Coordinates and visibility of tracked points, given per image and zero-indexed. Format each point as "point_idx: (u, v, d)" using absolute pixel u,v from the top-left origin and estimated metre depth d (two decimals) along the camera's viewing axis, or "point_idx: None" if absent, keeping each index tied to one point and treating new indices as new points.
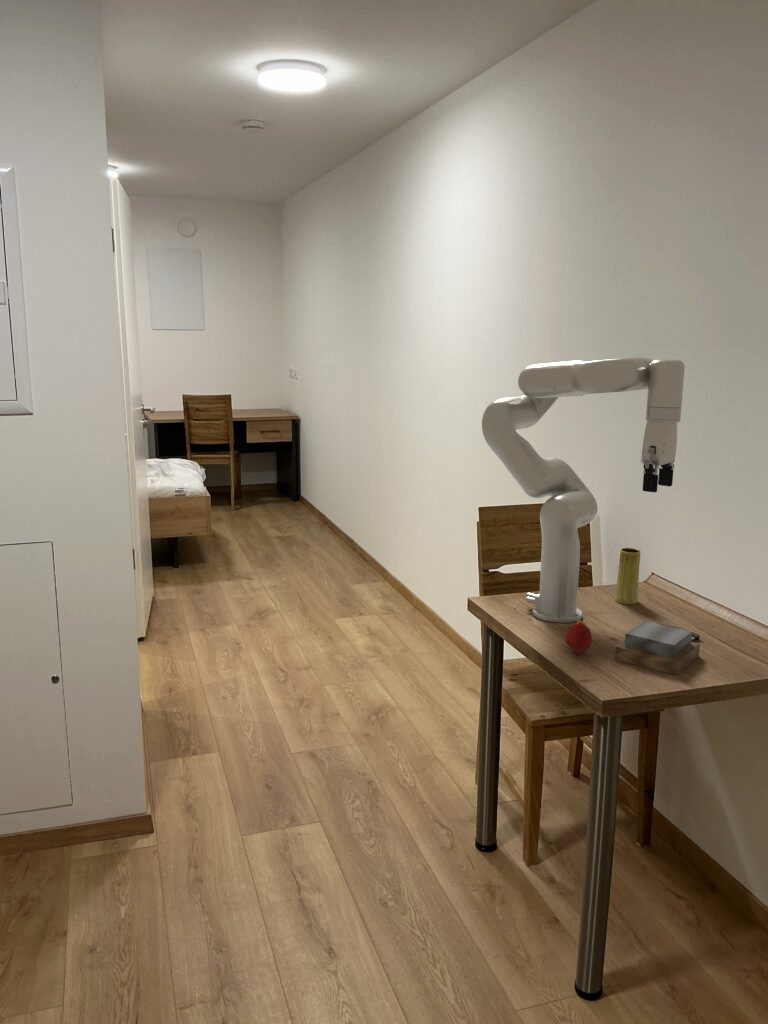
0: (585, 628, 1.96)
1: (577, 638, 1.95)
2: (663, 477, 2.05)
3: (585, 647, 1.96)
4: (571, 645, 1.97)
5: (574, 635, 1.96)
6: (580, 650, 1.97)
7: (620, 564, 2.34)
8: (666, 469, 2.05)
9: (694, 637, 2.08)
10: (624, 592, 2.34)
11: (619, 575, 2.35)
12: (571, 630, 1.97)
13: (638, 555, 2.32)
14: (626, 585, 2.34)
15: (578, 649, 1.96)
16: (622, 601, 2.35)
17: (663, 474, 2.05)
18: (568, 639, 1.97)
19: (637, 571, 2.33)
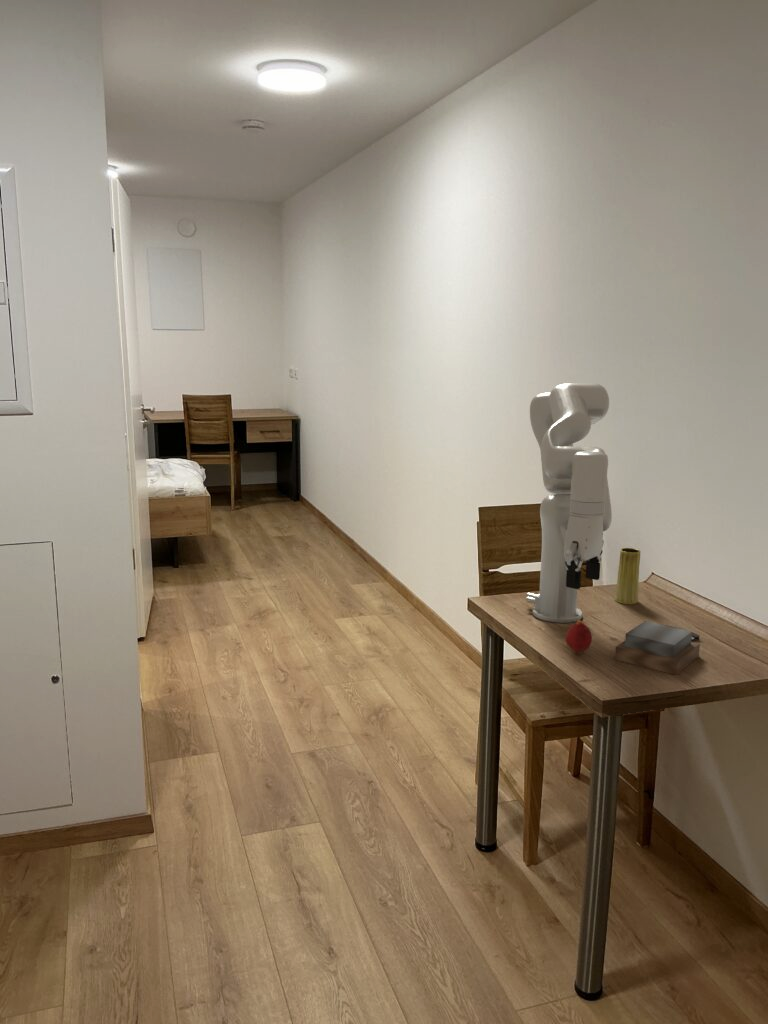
0: (585, 628, 1.96)
1: (577, 638, 1.95)
2: (590, 570, 1.98)
3: (585, 647, 1.96)
4: (571, 645, 1.97)
5: (574, 635, 1.96)
6: (580, 650, 1.97)
7: (620, 564, 2.34)
8: (593, 562, 1.97)
9: (694, 637, 2.08)
10: (624, 592, 2.34)
11: (619, 575, 2.35)
12: (571, 630, 1.97)
13: (638, 555, 2.32)
14: (626, 585, 2.34)
15: (578, 649, 1.96)
16: (622, 601, 2.35)
17: (590, 567, 1.98)
18: (568, 639, 1.97)
19: (637, 571, 2.33)
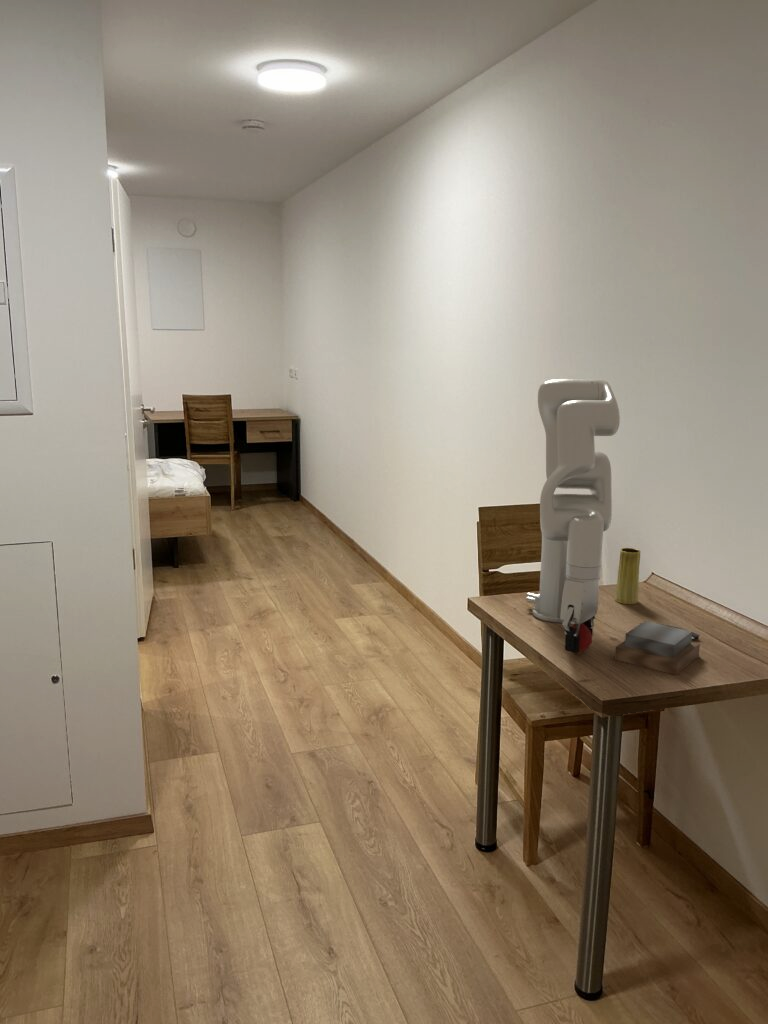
0: (585, 628, 1.96)
1: None
2: None
3: (585, 647, 1.96)
4: None
5: None
6: (580, 650, 1.97)
7: (620, 564, 2.34)
8: None
9: (694, 637, 2.08)
10: (624, 592, 2.34)
11: (619, 575, 2.35)
12: None
13: (638, 555, 2.32)
14: (626, 585, 2.34)
15: None
16: (622, 601, 2.35)
17: None
18: None
19: (637, 571, 2.33)
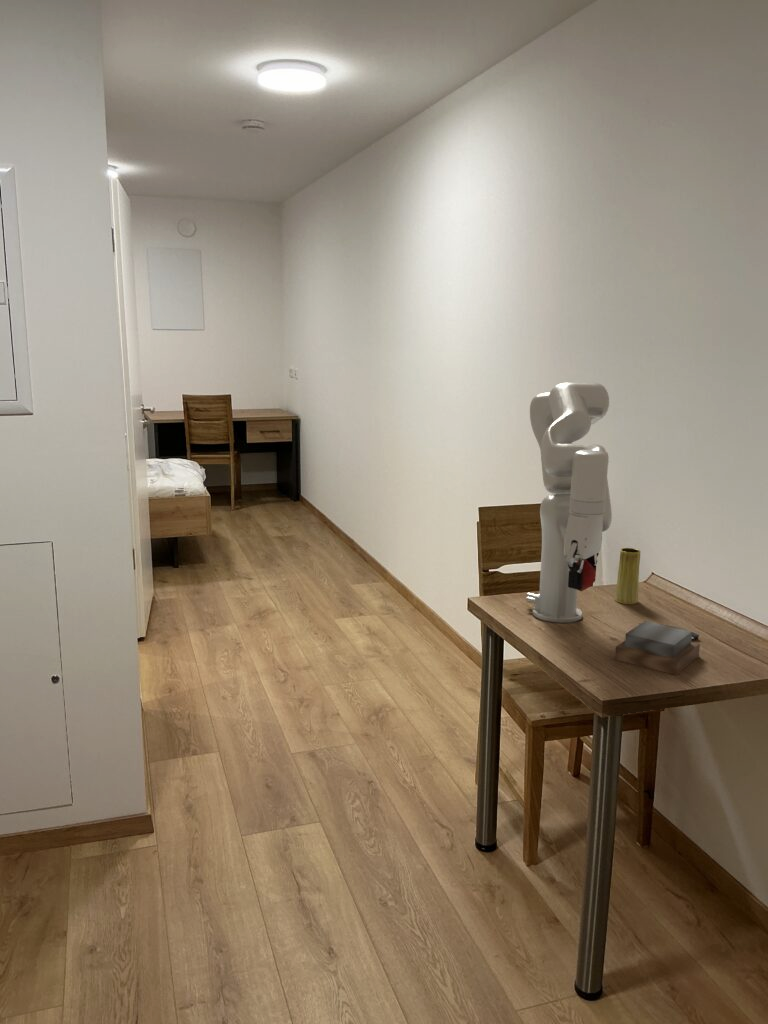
0: (589, 565, 1.94)
1: None
2: None
3: (589, 584, 1.94)
4: None
5: None
6: (583, 587, 1.94)
7: (620, 564, 2.34)
8: None
9: (693, 637, 2.08)
10: (624, 592, 2.34)
11: (619, 575, 2.35)
12: None
13: (638, 555, 2.32)
14: (626, 585, 2.34)
15: None
16: (622, 601, 2.35)
17: None
18: None
19: (637, 571, 2.33)
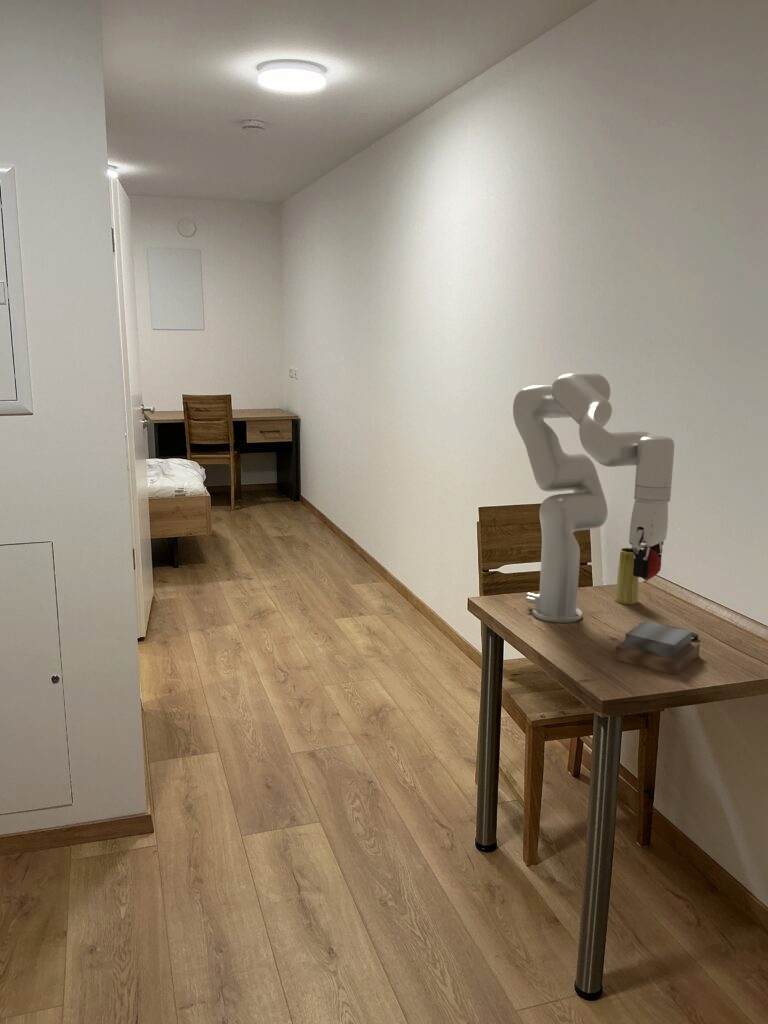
0: (654, 553, 1.91)
1: None
2: None
3: (654, 572, 1.90)
4: None
5: None
6: (649, 576, 1.91)
7: (620, 564, 2.34)
8: None
9: (693, 637, 2.08)
10: (624, 592, 2.34)
11: (619, 575, 2.35)
12: None
13: None
14: (626, 585, 2.34)
15: None
16: (622, 601, 2.35)
17: None
18: None
19: None
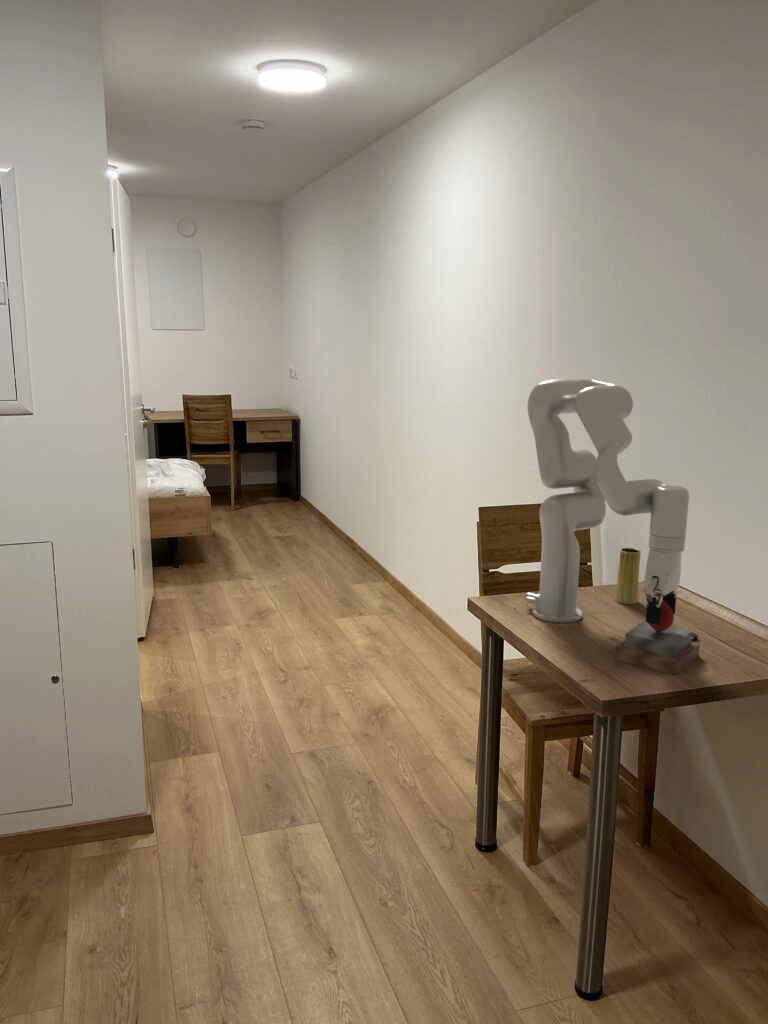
0: (667, 607, 1.93)
1: None
2: None
3: (667, 626, 1.93)
4: (653, 624, 1.93)
5: None
6: (662, 629, 1.93)
7: (620, 564, 2.34)
8: (668, 597, 1.97)
9: (693, 637, 2.08)
10: (624, 592, 2.34)
11: (619, 575, 2.35)
12: None
13: (638, 555, 2.32)
14: (626, 585, 2.34)
15: (660, 628, 1.93)
16: (622, 601, 2.35)
17: (665, 602, 1.97)
18: None
19: (637, 571, 2.33)
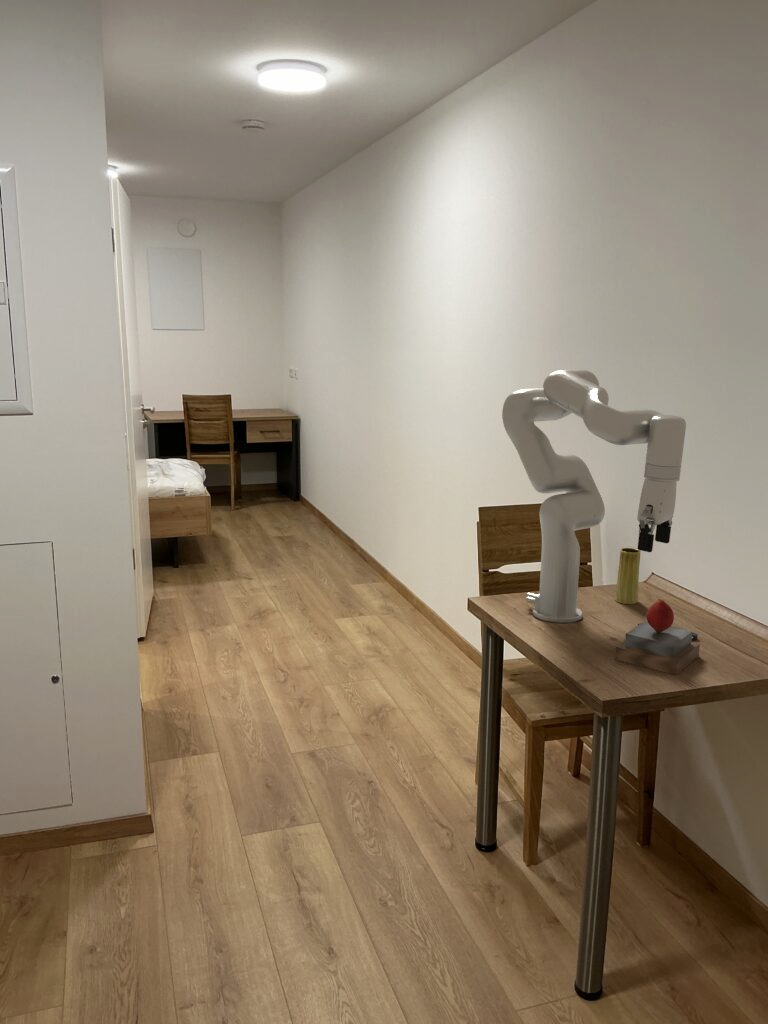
0: (667, 606, 1.93)
1: (660, 616, 1.92)
2: (660, 533, 1.99)
3: (667, 626, 1.93)
4: (653, 624, 1.93)
5: (656, 614, 1.92)
6: (662, 629, 1.93)
7: (620, 564, 2.34)
8: (663, 526, 1.99)
9: (693, 636, 2.08)
10: (624, 592, 2.34)
11: (619, 575, 2.35)
12: (653, 608, 1.93)
13: (638, 555, 2.32)
14: (626, 585, 2.34)
15: (660, 628, 1.93)
16: (622, 601, 2.35)
17: (660, 530, 1.99)
18: (650, 618, 1.94)
19: (637, 571, 2.33)
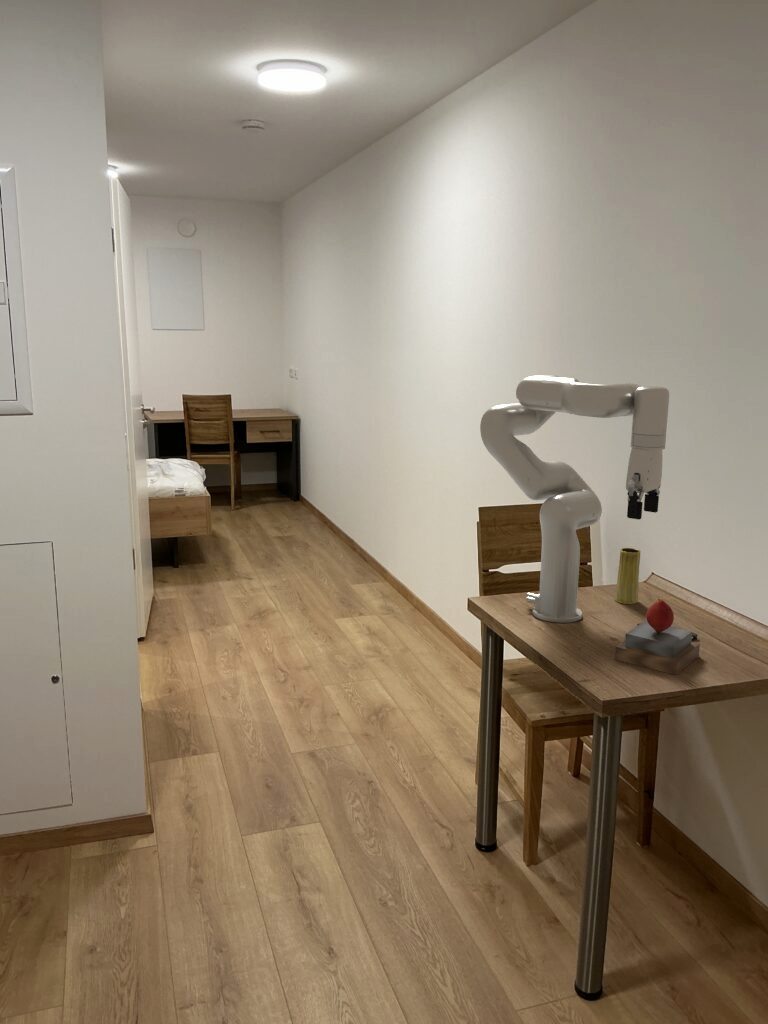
0: (667, 606, 1.93)
1: (660, 616, 1.92)
2: (649, 503, 2.05)
3: (667, 626, 1.93)
4: (653, 624, 1.93)
5: (656, 614, 1.92)
6: (662, 629, 1.93)
7: (620, 564, 2.34)
8: (651, 495, 2.04)
9: (692, 636, 2.08)
10: (624, 592, 2.34)
11: (619, 575, 2.35)
12: (653, 608, 1.94)
13: (638, 555, 2.32)
14: (626, 585, 2.34)
15: (660, 628, 1.93)
16: (622, 601, 2.35)
17: (649, 500, 2.05)
18: (650, 618, 1.94)
19: (637, 571, 2.33)
